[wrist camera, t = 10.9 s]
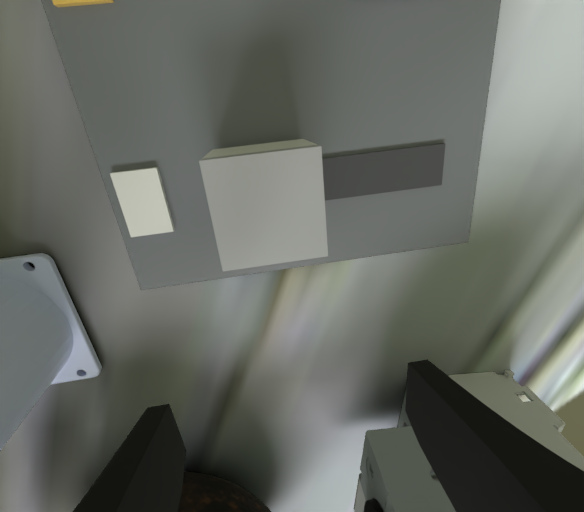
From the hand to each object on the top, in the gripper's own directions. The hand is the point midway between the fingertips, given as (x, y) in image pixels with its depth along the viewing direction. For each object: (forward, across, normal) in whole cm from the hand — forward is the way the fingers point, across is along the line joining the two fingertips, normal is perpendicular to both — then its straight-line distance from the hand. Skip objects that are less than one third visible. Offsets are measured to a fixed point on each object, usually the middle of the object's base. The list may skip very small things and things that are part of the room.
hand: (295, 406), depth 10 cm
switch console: (+9, -2, -10) cm, 14 cm away
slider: (+8, 0, -5) cm, 9 cm away
